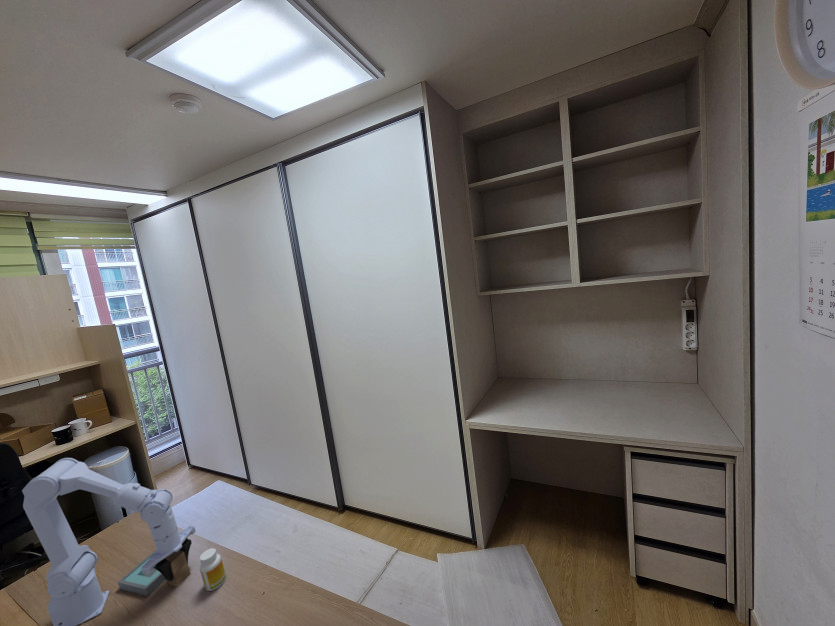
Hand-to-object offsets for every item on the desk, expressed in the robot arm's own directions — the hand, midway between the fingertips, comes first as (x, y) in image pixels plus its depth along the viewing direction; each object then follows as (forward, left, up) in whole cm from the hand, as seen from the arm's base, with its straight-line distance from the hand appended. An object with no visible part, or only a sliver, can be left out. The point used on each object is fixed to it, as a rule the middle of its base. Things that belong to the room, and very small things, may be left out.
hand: (177, 572), depth 99 cm
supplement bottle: (+10, -9, -3) cm, 13 cm away
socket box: (-7, +8, -2) cm, 11 cm away
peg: (0, 0, -2) cm, 2 cm away
